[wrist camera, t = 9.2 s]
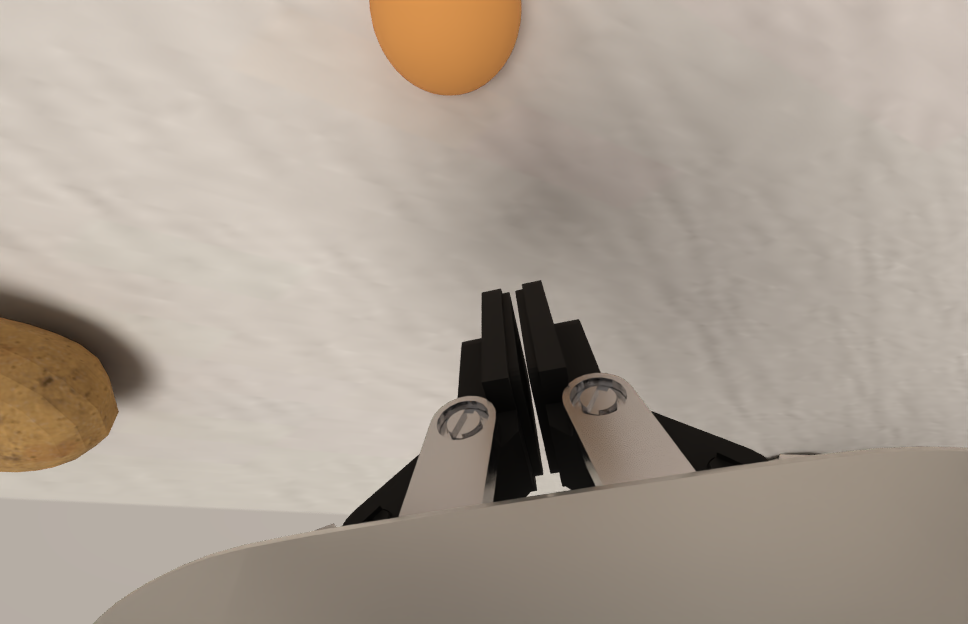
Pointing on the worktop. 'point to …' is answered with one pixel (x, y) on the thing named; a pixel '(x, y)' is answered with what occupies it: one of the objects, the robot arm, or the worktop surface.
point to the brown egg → (447, 40)
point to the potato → (49, 399)
